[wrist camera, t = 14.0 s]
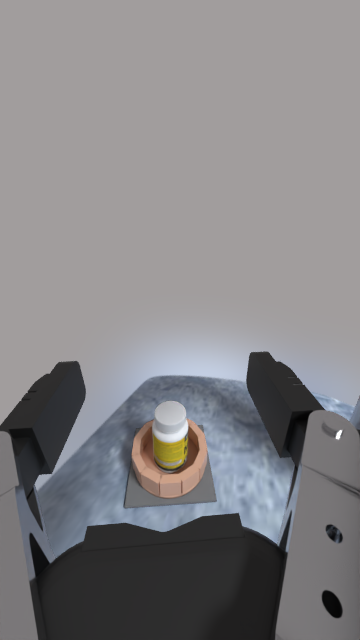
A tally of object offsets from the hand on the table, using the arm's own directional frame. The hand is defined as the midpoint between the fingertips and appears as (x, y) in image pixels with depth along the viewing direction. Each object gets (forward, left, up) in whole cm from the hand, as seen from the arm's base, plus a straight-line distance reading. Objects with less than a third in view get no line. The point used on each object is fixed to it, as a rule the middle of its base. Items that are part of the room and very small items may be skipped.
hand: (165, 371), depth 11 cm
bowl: (0, -13, -24) cm, 27 cm away
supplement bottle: (0, -12, -24) cm, 27 cm away
